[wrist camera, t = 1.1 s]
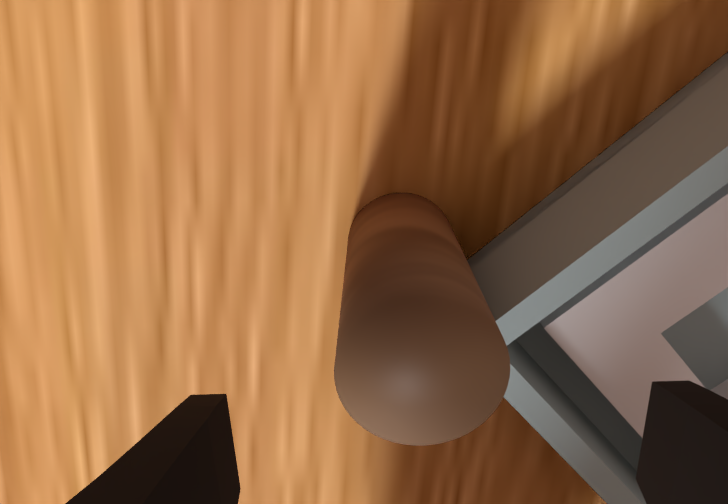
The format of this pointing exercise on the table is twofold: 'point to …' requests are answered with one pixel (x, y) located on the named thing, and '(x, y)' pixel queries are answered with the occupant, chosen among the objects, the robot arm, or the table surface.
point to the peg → (415, 328)
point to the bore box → (619, 286)
